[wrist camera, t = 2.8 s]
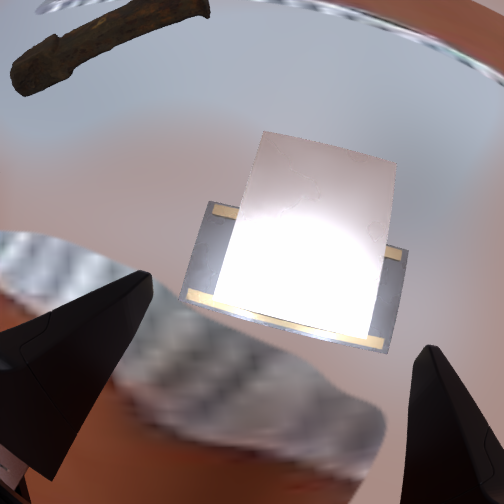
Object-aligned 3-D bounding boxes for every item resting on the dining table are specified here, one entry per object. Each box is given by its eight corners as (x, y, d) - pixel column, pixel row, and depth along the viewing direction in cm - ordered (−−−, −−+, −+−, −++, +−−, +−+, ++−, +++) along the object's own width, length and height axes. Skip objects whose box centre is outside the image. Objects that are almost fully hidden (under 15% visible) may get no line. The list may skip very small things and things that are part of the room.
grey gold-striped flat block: (397, 257, 19) (410, 249, 17) (377, 351, 18) (388, 354, 16) (215, 211, 21) (207, 198, 18) (188, 302, 20) (176, 299, 17)
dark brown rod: (206, 2, 26) (196, -37, 21) (215, 21, 25) (205, -21, 20) (30, 82, 27) (6, 56, 22) (24, 108, 26) (-3, 82, 21)
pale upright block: (343, 240, 17) (396, 163, 8) (322, 330, 16) (366, 339, 7) (273, 222, 18) (263, 131, 9) (248, 311, 17) (212, 299, 8)
